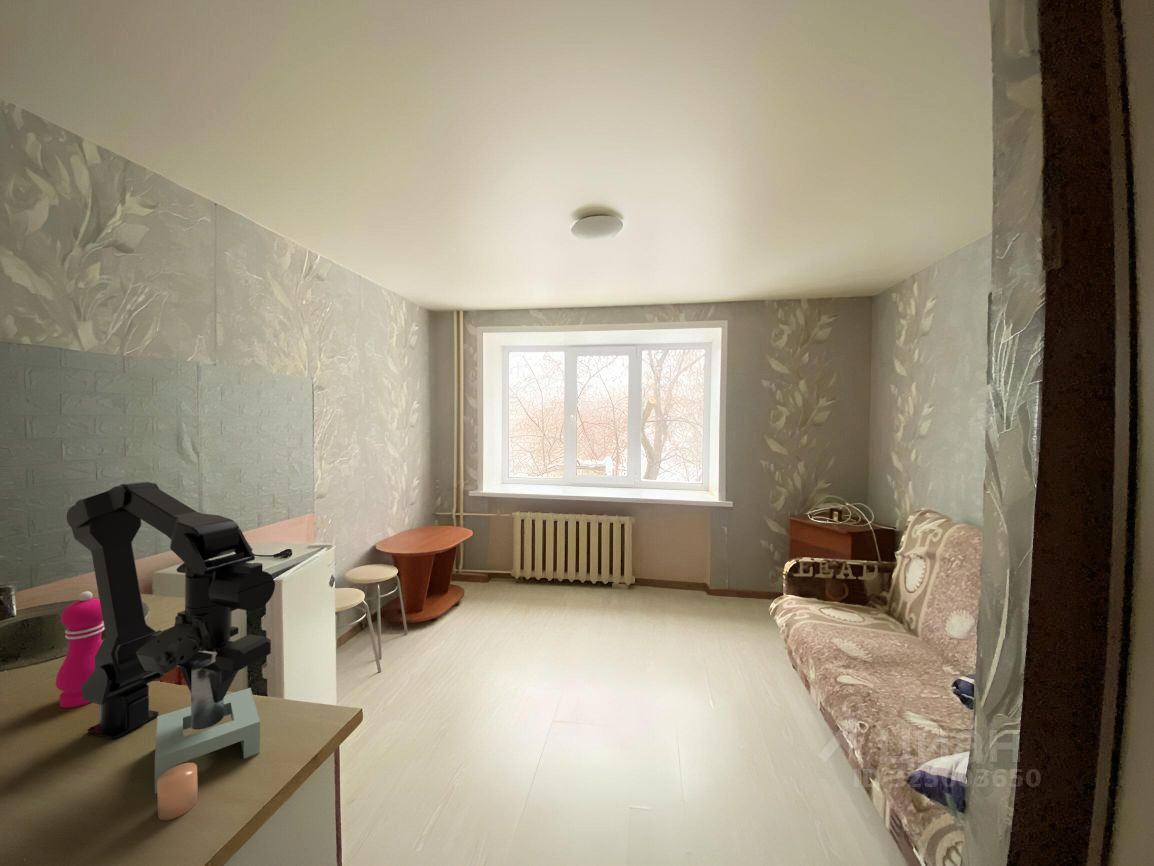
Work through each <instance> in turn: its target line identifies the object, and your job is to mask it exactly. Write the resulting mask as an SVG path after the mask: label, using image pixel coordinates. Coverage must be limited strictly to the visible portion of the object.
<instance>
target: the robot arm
mask: <svg viewBox="0 0 1154 866" xmlns="http://www.w3.org/2000/svg"><path fill="white" fill-rule="evenodd" d="M66 521H67V525H68V526H69V527H70V528H71V531H72V534H73V538H74V540H76V542H78V543H80V545H82V546H83V547H85V548H86V549H88V550H89V551H90V552H91V557H92V564H93V570H94V576H95V580H96V586H97V592H98V599H100V605H101V611H102V617H103V623H104V632H105V633H104V635H105V637H104V639H103V641H102V644H101V646H100V648H99V649H98V651H97V653H96V655H95V670H94V672H93V673H92V674H91V675H90V676H89V678H88V679H87V680H86V681H85V683H84V684H83V685H82V686H81V692H82V696H83V700H86V701H89V702H91V703H92V704H96V705H99V723H97V724H95V725H93V726H91V727H89V728H88V729H87V734H91V735H94V736H98V737H99V736H100V737H103V738H107V739H112V740H115V739H117V738H118V739H119V737H121V736H124V735H125V734H127V733H129V732H131V731H132V730H134V729H137V728H139V726H142V725H143V724H145V723H147V722H149V721H151V720H154V719H155V718H156V717H157V716H160V715H159V714H160V713H159V711H155V710H151V709H150V696H149V691H150V690H149V689H150V687H149V683H152V682H154V681H156V680H159V679H161V678H163V676H164V674H167V673H169V672H172V671H173V670H174V669H176V668H178V669H179V671H180V673H181V675H182V677H183V679H184V681H185V683H186V685H187V688H188V690H189V693H191V668H192V667H193V666H194V665H195V664H197V663H199V662H201V661H204V660H207V659H212V658H213V655H215V657H214V658H215V662H213V663H211V664H209V665H207V666H205V667H203V668H202V669H203V670H205V671H207V672H209V673H211V679H212V690H213V698H214V702H215V703H218V702H220V701H222V700H223V699H224V697H225V695H227V693H228V691H229V689H230V687H231V685H232V683H233V681H234V680H235V677H236V676H237V674H238V672H239V671H240V670H242V669H244V668H247V667H249V666H250V665H252V664H254V663H255V662H257V661H259V660H261V659H264V658H265V657H267V656H269V655H270V654H271V652H272V640H271V639H270V638H268V637H266V636H263V635H256V634H251V633H249V634H247V635H245V636H242V637H240V638H238V639H236V640H231V637H235V636H236V635H238V634H239V627H237V626H232V624H233V623H232V621H233V620H232V619H233V615H232V614H233V611H235V610H242V611H249V612H255V611H257V610H260V609H261V608H263V607H264V606H265V605H267V604H268V602H269V601H270V600H271V598H272V597H273V594H274V592H275V589H276V588H275V587H276V581H275V580H274V578H273V575H271V574H270V573H269V572H267V571H265V570H264V569H263V566H264V565H263V563H262V562H253V561H255V559H256V557H255V555H254V552H253V549H254V548H252V546H251V545H250V544H249V542H248V541H247V540H246V537H245V535H244V534H243V532H242V531H243V530H242V529H241V528H240V526H239V524H238V523H237V522H236V521H235V520H233V519H231V518H228V517H225V516H222V515H219V514H211V513H210V514H209V513H201V512H199V511H196V510H195V509H193V508H192V507H190V506H188V505H187V504H185V503H183V502H182V501H180V500H178V499H176V498H175V497H173V496H171V495H170V494H168V493H166V492H165V491H163V490H161V489H160V488H159V486H158V484H156V483H155V482H149V481H143V482H142V481H141V482H140V481H139V482H131V483H130V482H129V483H121V484H119V485H117V486H113V487H112V488H110V489H108V490H107V491H103V492H100V493H98V494H95V495H92V496H87V497H86V498H81V499H79V500H77V501H76V503H75V504H74V505H72V506H71V507H69V509H67V512H66ZM142 521H143V522H145V523H146V524H148V525H149V526H151V527H153V528H154V529H156V530H157V531H159V532H160V533H162V534H163V535H165V536H167V538H168V539H170V546H169V549H170V550H171V551H172V552H173V553H174V554H175V555H176V556H177V557H178V558H179V559H180V560H181V561H182V562H183V563H181V564H180V565H179V566H177V568H176V572H177V573H179V574H180V573H181V574H184V610H182V611H180V612H179V611H178V612H177V615H176V616H175V620H174V626H172V627H169V628H166V629H163V630H154V629H153V628H152V627H151V626H149V625H148V624H147V622H146V617H145V610H144V606H143V605H144V604H143V599H142V593H141V589H140V583H139V576H138V572H137V565H136V561H135V560H136V559H135V556H134V549H133V541H134V539H135V538H136V535H137V534H138V532H139V530H140V529H141V527H142ZM232 553H234V554H232ZM251 562H253V563H251Z"/></svg>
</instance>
